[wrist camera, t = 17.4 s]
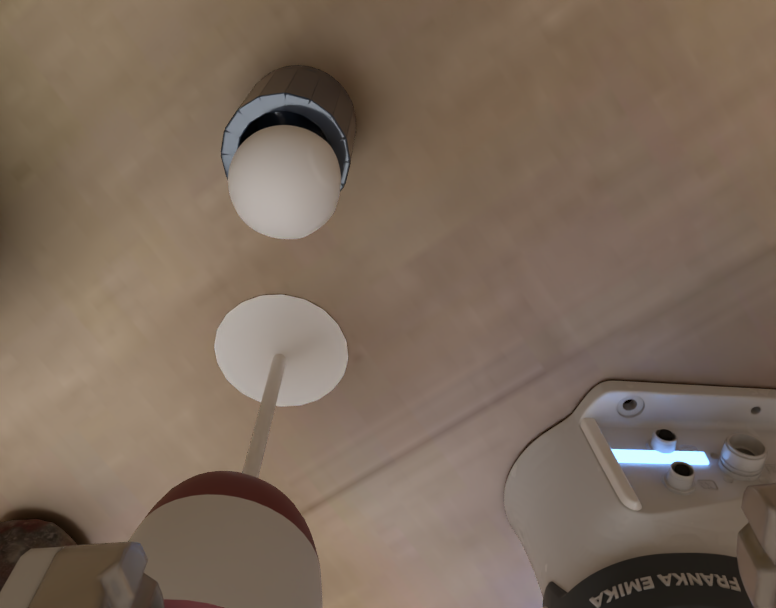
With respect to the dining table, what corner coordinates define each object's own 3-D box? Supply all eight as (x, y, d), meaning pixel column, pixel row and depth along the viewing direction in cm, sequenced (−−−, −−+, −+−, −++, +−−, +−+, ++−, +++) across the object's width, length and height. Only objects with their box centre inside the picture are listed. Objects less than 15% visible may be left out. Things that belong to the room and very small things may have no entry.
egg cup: (346, 57, 37) (337, 85, 32) (364, 167, 40) (358, 210, 35) (233, 73, 37) (207, 103, 32) (259, 181, 40) (237, 224, 35)
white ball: (289, 211, 36) (278, 278, 33) (214, 145, 34) (193, 210, 30) (365, 156, 34) (362, 222, 31) (292, 81, 32) (279, 142, 28)
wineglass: (238, 424, 48) (132, 774, 29) (187, 299, 44) (23, 618, 25) (368, 401, 47) (345, 750, 28) (330, 272, 43) (272, 582, 24)
